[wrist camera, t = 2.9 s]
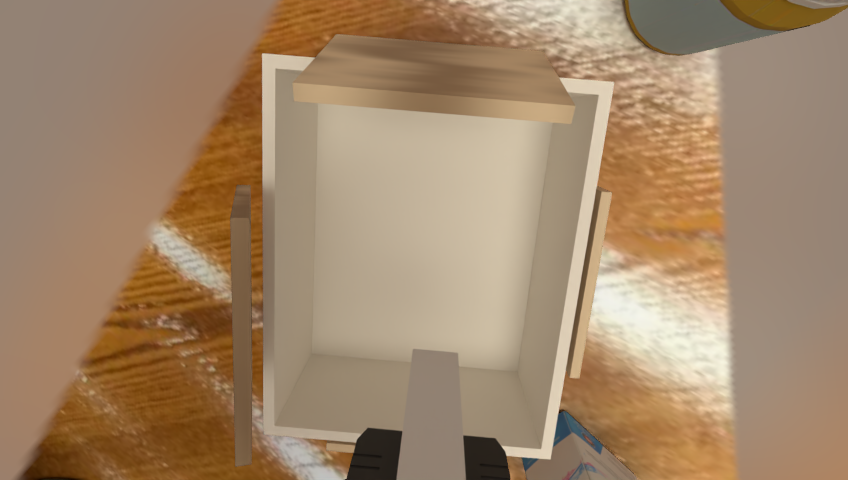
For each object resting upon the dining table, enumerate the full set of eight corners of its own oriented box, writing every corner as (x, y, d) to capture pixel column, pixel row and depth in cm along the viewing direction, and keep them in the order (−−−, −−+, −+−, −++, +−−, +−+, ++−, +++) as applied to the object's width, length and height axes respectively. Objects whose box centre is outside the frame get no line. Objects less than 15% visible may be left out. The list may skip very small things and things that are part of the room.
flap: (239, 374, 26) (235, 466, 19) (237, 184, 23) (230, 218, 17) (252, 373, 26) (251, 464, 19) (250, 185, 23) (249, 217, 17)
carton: (305, 367, 36) (263, 447, 27) (311, 70, 31) (262, 53, 22) (533, 386, 36) (563, 473, 27) (578, 92, 31) (633, 83, 22)
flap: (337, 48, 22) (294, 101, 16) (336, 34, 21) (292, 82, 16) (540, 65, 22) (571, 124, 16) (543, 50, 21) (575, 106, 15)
